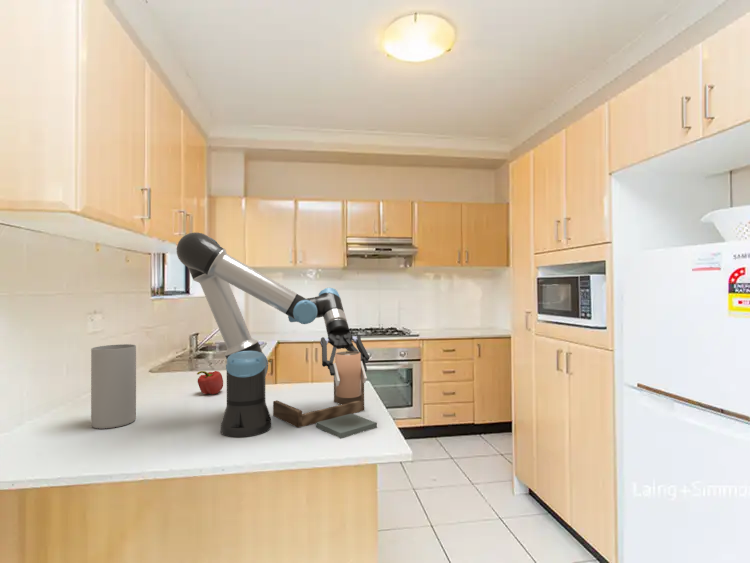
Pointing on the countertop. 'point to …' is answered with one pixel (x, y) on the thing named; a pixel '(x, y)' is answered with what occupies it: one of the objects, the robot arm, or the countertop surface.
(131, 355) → the cylinder vase
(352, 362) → the tan upright cylinder
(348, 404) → the brown wooden bracket
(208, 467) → the countertop surface
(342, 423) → the rubber mat
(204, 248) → the robot arm
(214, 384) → the vegetable
